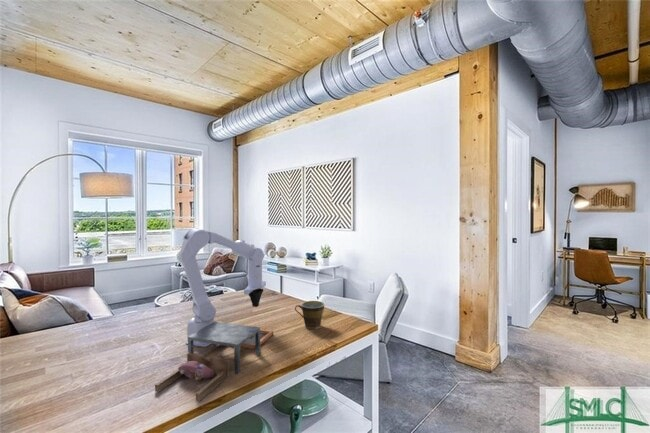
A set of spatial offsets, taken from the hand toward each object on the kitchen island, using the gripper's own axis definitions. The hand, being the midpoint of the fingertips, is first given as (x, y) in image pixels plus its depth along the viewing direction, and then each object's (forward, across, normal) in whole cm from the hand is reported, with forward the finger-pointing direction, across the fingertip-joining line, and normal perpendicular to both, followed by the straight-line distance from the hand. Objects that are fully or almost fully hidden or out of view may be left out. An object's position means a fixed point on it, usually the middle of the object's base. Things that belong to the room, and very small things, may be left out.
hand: (255, 306), depth 132 cm
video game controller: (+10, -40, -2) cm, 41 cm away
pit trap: (+9, -11, -4) cm, 15 cm away
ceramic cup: (+10, +8, -22) cm, 25 cm away
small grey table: (+9, -27, -4) cm, 29 cm away
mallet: (+9, -32, -4) cm, 34 cm away
